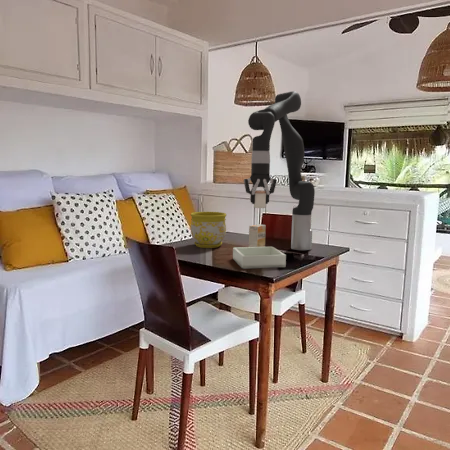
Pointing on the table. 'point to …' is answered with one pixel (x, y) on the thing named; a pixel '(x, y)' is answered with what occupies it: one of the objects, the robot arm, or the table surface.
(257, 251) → the bin
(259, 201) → the dressing jar
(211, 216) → the flowerpot
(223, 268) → the table surface
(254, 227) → the supplement box
